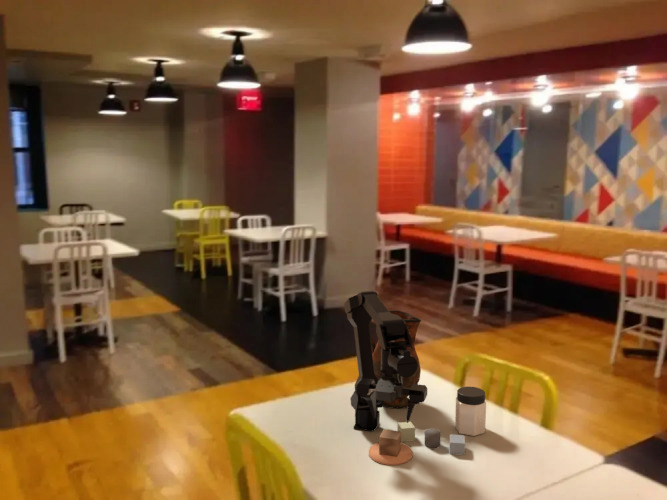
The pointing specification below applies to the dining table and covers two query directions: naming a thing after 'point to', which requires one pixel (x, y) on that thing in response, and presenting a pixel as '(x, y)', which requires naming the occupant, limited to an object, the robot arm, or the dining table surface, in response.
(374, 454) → the coaster
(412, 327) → the pitcher
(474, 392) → the jar
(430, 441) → the grey cylinder
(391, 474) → the dining table surface
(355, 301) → the robot arm
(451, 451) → the plastic brick
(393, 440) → the walnut block
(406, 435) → the sage cube
